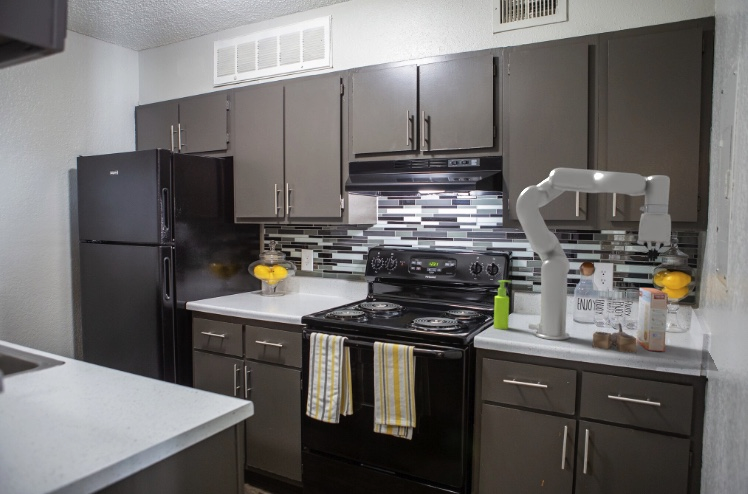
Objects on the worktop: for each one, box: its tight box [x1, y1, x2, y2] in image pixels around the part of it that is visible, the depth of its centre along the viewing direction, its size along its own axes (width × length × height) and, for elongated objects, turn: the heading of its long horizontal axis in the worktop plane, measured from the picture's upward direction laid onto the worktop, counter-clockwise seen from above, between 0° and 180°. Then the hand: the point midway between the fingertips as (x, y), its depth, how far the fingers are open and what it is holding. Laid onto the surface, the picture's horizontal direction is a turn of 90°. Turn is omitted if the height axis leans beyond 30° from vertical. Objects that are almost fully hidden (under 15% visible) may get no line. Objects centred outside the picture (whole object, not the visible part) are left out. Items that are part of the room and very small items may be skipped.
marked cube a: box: [616, 334, 637, 354], centre depth 189 cm, size 5×5×5 cm
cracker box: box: [636, 287, 669, 352], centre depth 194 cm, size 14×6×21 cm, turn 168°
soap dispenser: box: [493, 279, 513, 330], centre depth 224 cm, size 6×7×20 cm
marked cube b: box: [592, 331, 612, 350], centre depth 193 cm, size 5×5×5 cm
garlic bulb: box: [611, 322, 629, 346], centre depth 198 cm, size 8×7×8 cm
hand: (652, 260), depth 193 cm, fingers closed
